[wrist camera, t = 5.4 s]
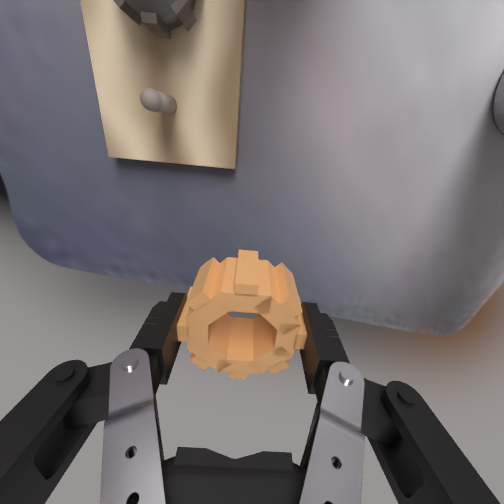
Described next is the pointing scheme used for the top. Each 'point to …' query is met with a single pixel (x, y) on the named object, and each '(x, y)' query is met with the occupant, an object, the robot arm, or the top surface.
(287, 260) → the top surface
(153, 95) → the gear board
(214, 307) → the gear
